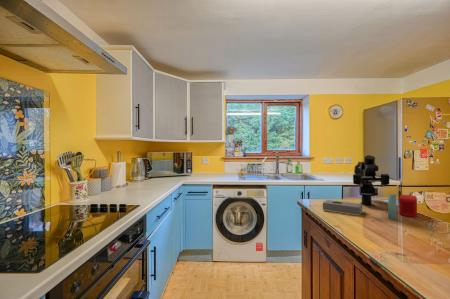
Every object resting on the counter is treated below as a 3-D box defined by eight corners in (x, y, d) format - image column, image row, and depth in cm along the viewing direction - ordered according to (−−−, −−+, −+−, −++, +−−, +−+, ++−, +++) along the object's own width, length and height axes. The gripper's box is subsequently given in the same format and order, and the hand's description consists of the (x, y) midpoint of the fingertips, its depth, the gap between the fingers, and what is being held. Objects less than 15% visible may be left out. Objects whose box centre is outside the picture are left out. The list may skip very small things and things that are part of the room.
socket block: (327, 206, 154) (327, 199, 154) (362, 211, 141) (362, 204, 141) (322, 209, 146) (322, 202, 146) (359, 215, 134) (359, 207, 133)
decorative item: (398, 209, 145) (398, 193, 145) (417, 212, 139) (416, 195, 139) (396, 215, 133) (396, 197, 133) (416, 218, 128) (416, 199, 128)
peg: (388, 217, 129) (388, 193, 129) (396, 218, 127) (396, 194, 127) (388, 219, 127) (387, 194, 126) (396, 220, 124) (396, 195, 124)
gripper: (352, 162, 151) (353, 173, 138) (387, 161, 142) (392, 173, 129) (352, 177, 154) (354, 190, 141) (386, 178, 146) (391, 191, 133)
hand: (372, 186), depth 136 cm, fingers open, 9 cm apart
